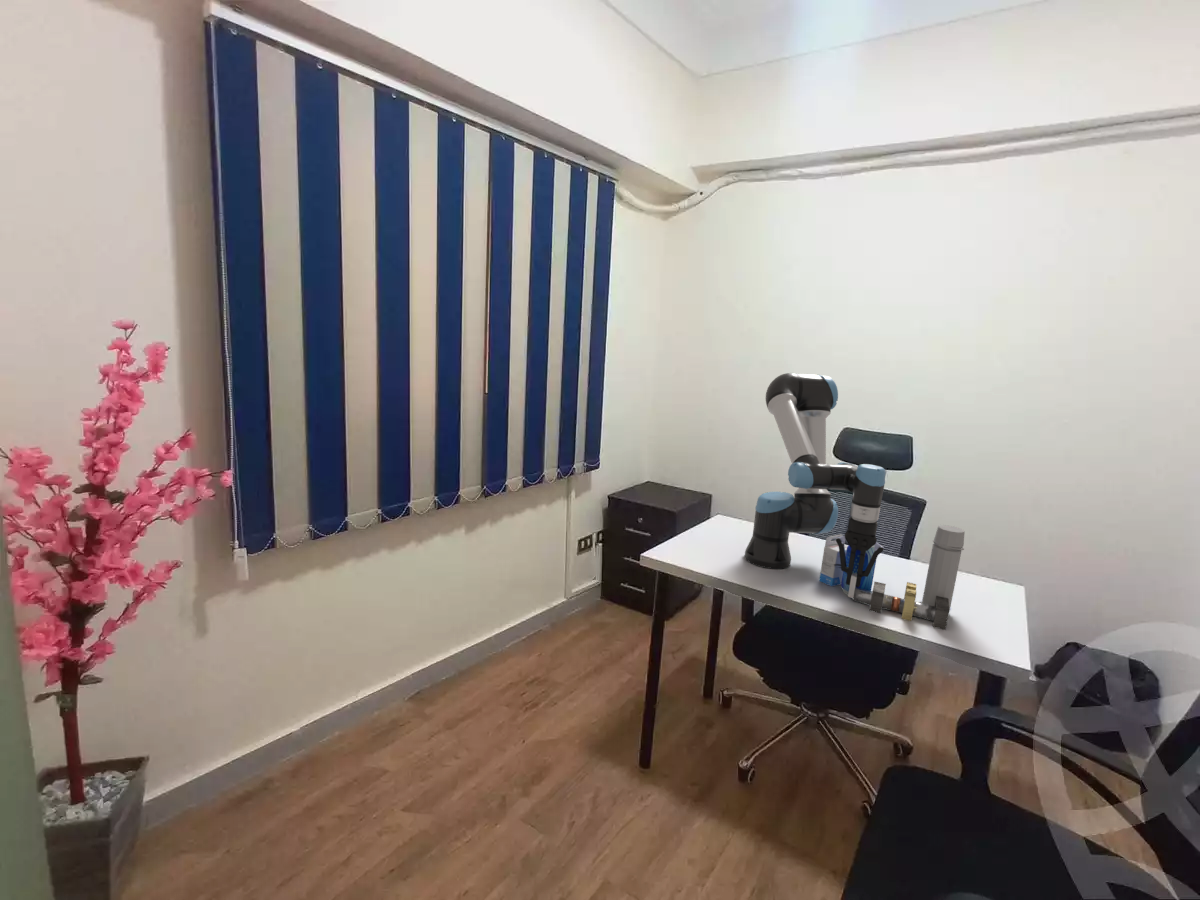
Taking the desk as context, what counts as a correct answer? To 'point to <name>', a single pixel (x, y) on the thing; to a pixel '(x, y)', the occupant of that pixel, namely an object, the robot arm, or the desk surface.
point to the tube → (895, 604)
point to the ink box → (831, 563)
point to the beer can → (865, 581)
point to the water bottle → (943, 564)
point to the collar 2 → (941, 612)
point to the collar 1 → (877, 597)
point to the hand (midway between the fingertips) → (851, 595)
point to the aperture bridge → (909, 601)
